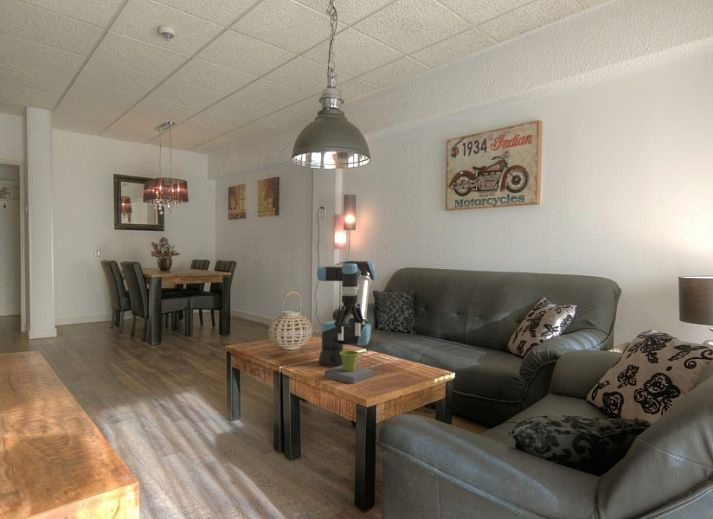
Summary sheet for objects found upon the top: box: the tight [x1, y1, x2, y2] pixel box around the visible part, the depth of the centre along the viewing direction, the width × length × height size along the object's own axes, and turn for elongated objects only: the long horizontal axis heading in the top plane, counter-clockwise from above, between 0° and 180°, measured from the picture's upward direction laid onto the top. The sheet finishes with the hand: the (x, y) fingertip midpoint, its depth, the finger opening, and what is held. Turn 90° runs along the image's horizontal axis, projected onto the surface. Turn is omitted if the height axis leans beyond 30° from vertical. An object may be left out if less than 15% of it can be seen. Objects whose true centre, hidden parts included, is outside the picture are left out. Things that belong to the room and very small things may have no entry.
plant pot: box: [340, 350, 360, 372], centre depth 210 cm, size 9×9×9 cm
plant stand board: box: [324, 365, 374, 384], centre depth 210 cm, size 18×16×3 cm
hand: (349, 337), depth 210 cm, fingers open, 13 cm apart
